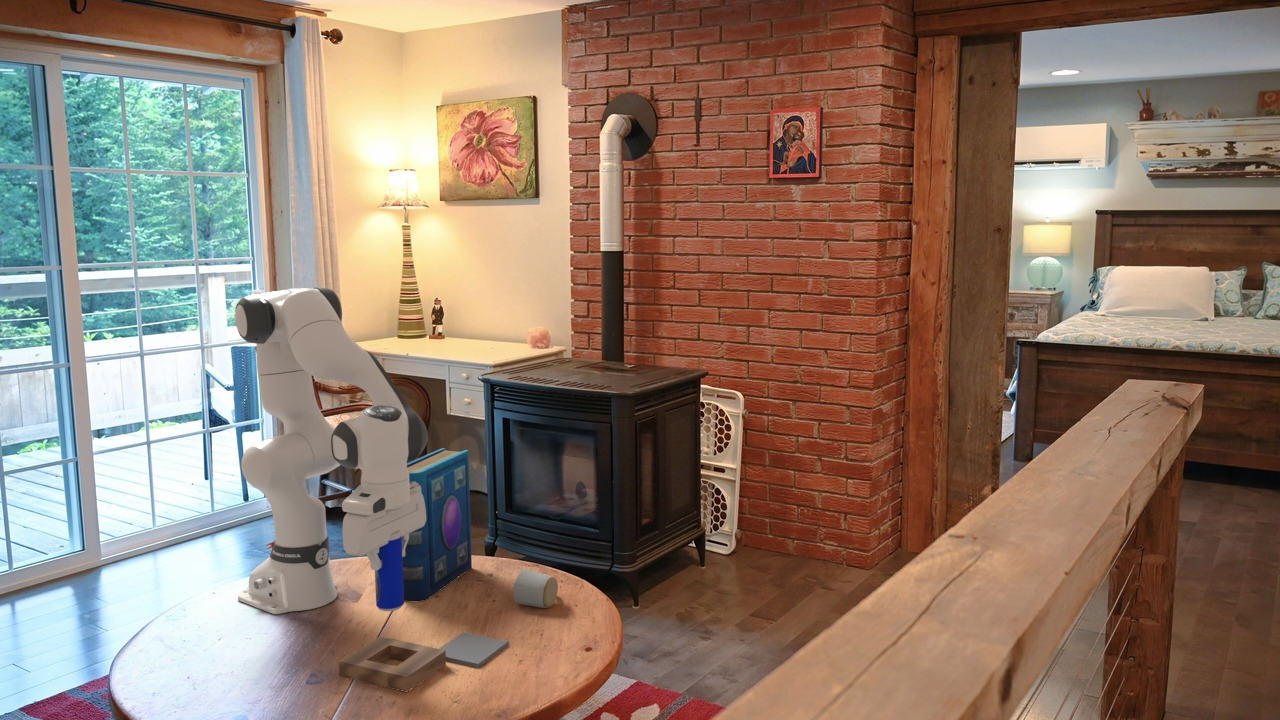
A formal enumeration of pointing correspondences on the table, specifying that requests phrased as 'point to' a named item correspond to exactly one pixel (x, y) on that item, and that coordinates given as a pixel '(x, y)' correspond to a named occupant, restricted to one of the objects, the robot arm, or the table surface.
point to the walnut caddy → (372, 669)
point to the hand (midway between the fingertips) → (388, 563)
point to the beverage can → (390, 575)
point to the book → (439, 524)
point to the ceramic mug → (535, 589)
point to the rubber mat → (472, 649)
